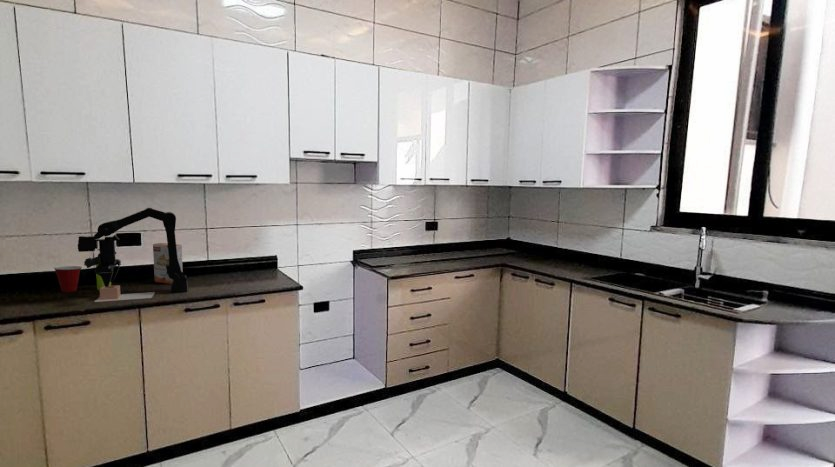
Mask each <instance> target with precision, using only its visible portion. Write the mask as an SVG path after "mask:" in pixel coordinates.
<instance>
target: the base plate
mask: <svg viewBox="0 0 835 467" xmlns="http://www.w3.org/2000/svg"><path fill="white" fill-rule="evenodd" d="M155 293H156V292H155V291H152V292H150V291H149V292H139V293H138V292H137V293H136V292H135V293H134V292H133V293H122V294H121V293H120V295H121V296H120V297H119V298H118V299H108V300H100V296H99V297H97V299H95V300H94V303H99V302H101V303H102V302H113V301H125V300H141V299H152V298H153V296H154V295H155Z"/></svg>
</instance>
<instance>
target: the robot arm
mask: <svg viewBox="0 0 835 467" xmlns="http://www.w3.org/2000/svg"><path fill="white" fill-rule="evenodd" d="M147 218H153V219H154V220H157V221H161V222H162V224H163V227H164V230H165V232H166V233H165V234H166V241H167V242H166V243H167V244H168V253H169V264H166V269H167V271H166V274H168V276H169V278H171V279H173V282H172V284H170V290H171V294H182V293H188V291H189V290H188V288H189V283H188V278H187V274H186V273H184V271H183V272H182V271H181V267H180V264H179V261H178V258H177V248H176V244H177V241H176V240H177V239H176V224H177V223H176V221H177V217H176V215H175V213H174V212H170V211H168V212H165V211H162V210H158V209H154V208H153V207H147V208H145V209H143V210H141V211H138V212H135V213H133V214H130V215H126V216H125V217H122V218H120V219H116V220H111V221H106V222H102V223H101V224H100V225H99V226H97V232H96V233H95V234H94V235H92V236H85V235H84V236H82V235H80V236H78V241H77V242H78V243H77V251H78V252H79V253H81V252H95V251H96V250H97V249H99V250H100V251H99V250H98V251H99V253H98V254H97V256H95V257H89V258H85V260H84V262H83V263H84V264H83V265H84V267H86V268H87V269H89V268H91V267H93V266H95V267H94V274H95V275H96V274H98V275H100V276H101V278H102V280H103V282H104V285H105V287H108V286H109V283H110V282H111V283H114V282H115V279H116V276H117V274H118V272H119V269H120V268H121V265H122V263H121V260H120V259H118V258H116V255H117V251H116V246H115V242H116V241H119V240H120V238H119V237H118V236H117V235H116V234H114V233H116V232H118V231H119V230H121V229H124V227H127V226H129V225H132V224H134V223H137V222H140V221H143V220H144V219H147ZM113 234H114V235H113ZM111 235H113V236H111ZM103 237H104V238H103ZM98 247H99V248H98ZM97 264H98V266H97V267H96V265H97Z"/></svg>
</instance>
